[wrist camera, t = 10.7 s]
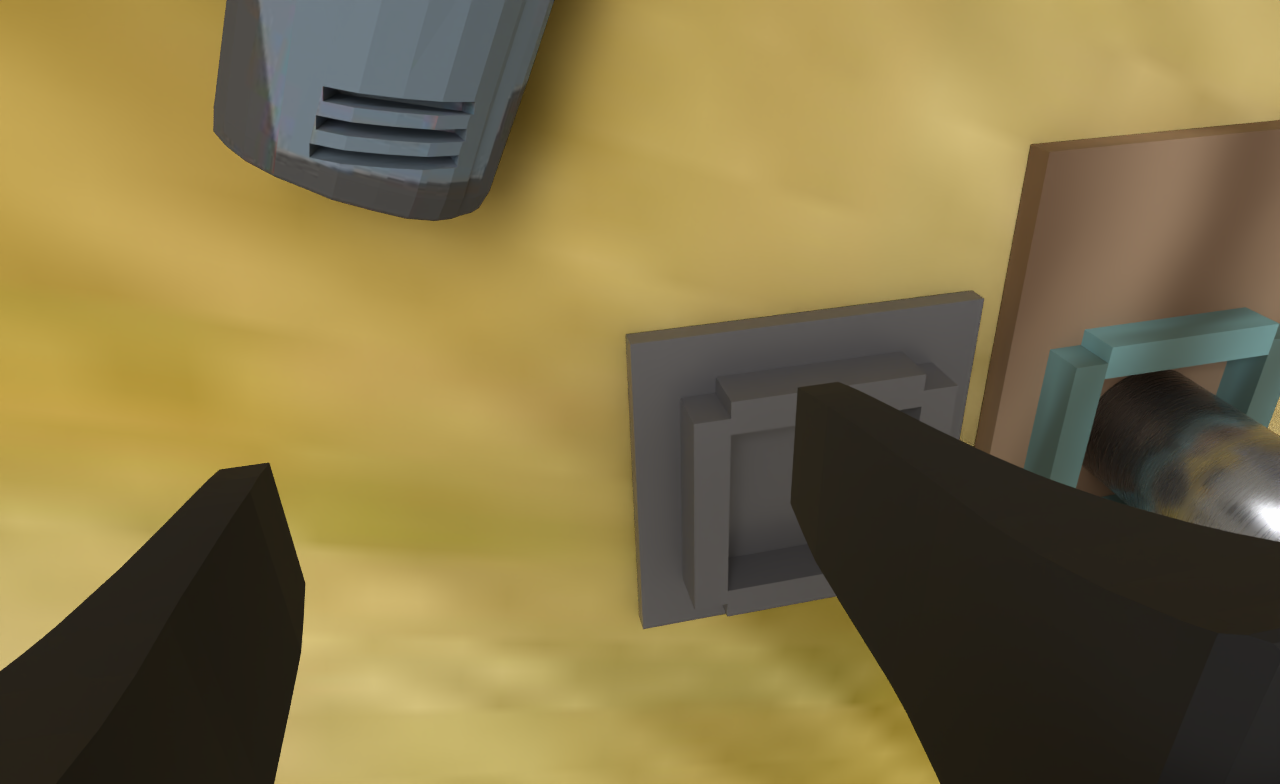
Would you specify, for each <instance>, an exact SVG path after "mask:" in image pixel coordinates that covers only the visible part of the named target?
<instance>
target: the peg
mask: <svg viewBox="0 0 1280 784" xmlns="http://www.w3.org/2000/svg"><path fill="white" fill-rule="evenodd" d="M1082 465H1083V466H1084V467H1085V468H1086V469H1087V470H1088V471H1089V472H1090V473H1091V474H1093V475H1094V476H1095V477H1096V478H1097V479H1098V480H1100V481H1101V482H1102V483H1103V484H1104V485H1105V486H1106V487H1108V488H1109V489H1110V490H1111V491H1112V492H1113V493H1115V494H1116V495H1117V496H1118V497H1119V498H1120V499H1121V500H1123V501H1124V502H1125V503H1126V504H1127V505H1128V506H1131V507H1135V508H1138V509H1142V510H1146V511H1149V512H1153V513H1157V514H1160V515H1164V516H1168V517H1171V518H1175V519H1179V520H1182V521H1186V522H1190V523H1194V524H1198V525H1203V526H1207V527H1211V528H1215V529H1220V530H1224V531H1228V532H1233V533H1238V534H1243V535H1248V536H1253V537H1258V538H1263V539H1268V540H1273V541H1278V542H1280V436H1279V435H1277V434H1276V433H1274V432H1273V431H1271V430H1269V429H1268V428H1266V427H1265V426H1263V425H1262V424H1260V423H1258V422H1257V421H1255V420H1254V419H1252V418H1251V417H1249V416H1247V415H1246V414H1244V413H1243V412H1241V411H1239V410H1238V409H1236V408H1235V407H1233V406H1232V405H1230V404H1228V403H1227V402H1225V401H1224V400H1222V399H1221V398H1219V397H1217V396H1216V395H1214V394H1213V393H1211V392H1209V391H1208V390H1206V389H1205V388H1203V387H1202V386H1200V385H1198V384H1197V383H1195V382H1194V381H1192V380H1191V379H1189V378H1187V377H1186V376H1184V375H1183V374H1181V373H1179V372H1177V371H1175V370H1172V369H1169V370H1163V371H1156V372H1149V373H1143V374H1136V375H1131V376H1129V377H1127V378H1125V379H1124V380H1122V381H1120V382H1119V383H1117V384H1116V385H1114V386H1113V387H1112V388H1111V389H1109V390H1108V391H1107V392H1106V393H1105V394H1104V395H1103V396H1102V397H1101V398H1100V399H1099V402H1098V406H1097V410H1096V414H1095V418H1094V421H1093V425H1092V429H1091V433H1090V437H1089V440H1088V444H1087V448H1086V452H1085V456H1084V459H1083V463H1082Z"/></svg>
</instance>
